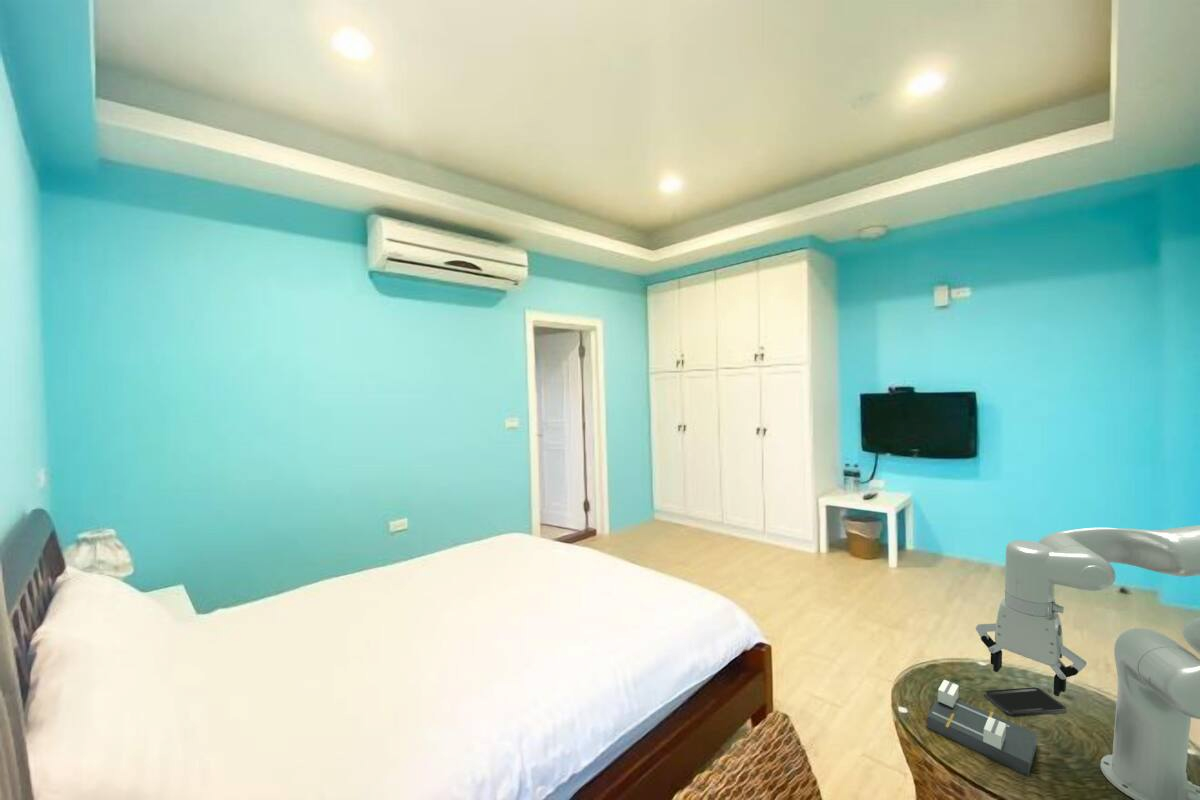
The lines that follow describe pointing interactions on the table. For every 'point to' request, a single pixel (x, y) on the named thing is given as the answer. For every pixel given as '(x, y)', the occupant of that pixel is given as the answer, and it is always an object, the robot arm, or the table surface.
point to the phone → (1024, 702)
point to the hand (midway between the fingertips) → (1026, 680)
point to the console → (969, 730)
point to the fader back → (948, 693)
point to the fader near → (994, 732)
